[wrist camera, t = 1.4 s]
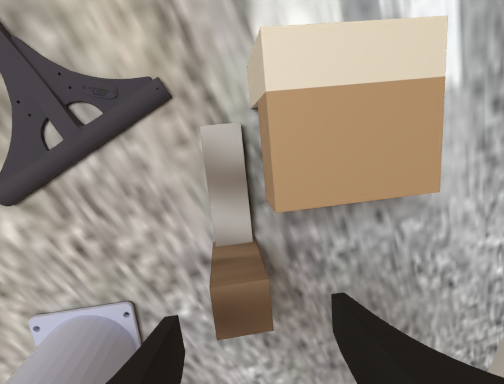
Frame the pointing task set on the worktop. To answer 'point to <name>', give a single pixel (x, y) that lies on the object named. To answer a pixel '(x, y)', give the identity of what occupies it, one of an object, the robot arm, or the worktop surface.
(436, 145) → the tan block
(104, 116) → the bracket
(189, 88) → the worktop surface
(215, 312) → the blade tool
